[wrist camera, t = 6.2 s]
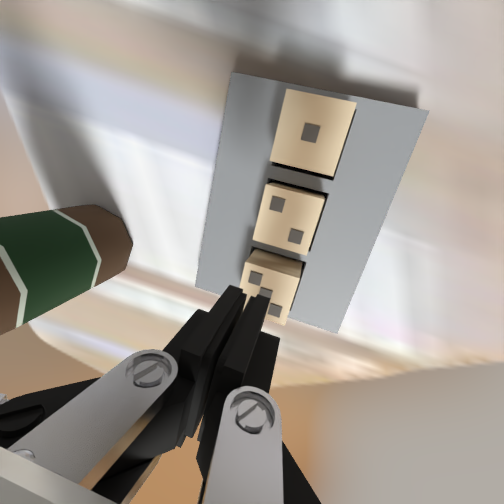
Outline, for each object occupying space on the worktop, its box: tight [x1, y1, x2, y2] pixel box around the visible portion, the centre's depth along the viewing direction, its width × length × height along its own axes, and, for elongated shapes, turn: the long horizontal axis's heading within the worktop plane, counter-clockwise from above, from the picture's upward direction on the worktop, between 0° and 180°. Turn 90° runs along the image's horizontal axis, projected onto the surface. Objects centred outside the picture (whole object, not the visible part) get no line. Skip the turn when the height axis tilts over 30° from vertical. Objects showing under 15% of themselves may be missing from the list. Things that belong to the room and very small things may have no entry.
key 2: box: [253, 182, 325, 256], centre depth 19 cm, size 4×4×4 cm
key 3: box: [239, 248, 302, 326], centre depth 21 cm, size 4×4×4 cm
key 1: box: [270, 89, 357, 176], centre depth 17 cm, size 4×4×4 cm
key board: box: [195, 72, 429, 334], centre depth 21 cm, size 13×17×2 cm
